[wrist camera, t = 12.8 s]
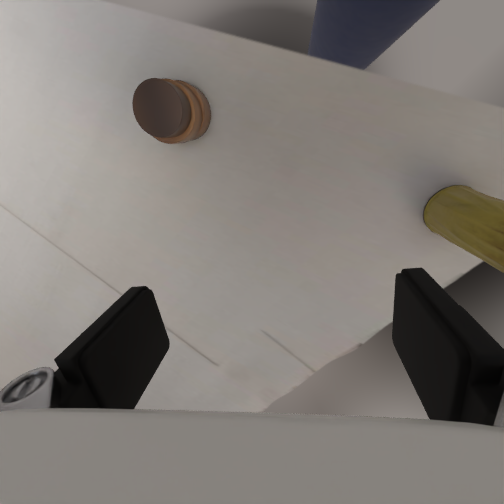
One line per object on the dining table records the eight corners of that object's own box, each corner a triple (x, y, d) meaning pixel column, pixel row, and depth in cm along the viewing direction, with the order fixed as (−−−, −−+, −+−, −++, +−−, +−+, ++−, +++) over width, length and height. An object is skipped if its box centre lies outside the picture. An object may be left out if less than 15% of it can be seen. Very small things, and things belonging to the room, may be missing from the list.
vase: (442, 177, 31) (550, 207, 18) (491, 195, 31) (635, 237, 18) (413, 224, 34) (489, 280, 21) (458, 241, 34) (563, 307, 21)
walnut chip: (184, 77, 26) (174, 72, 24) (196, 132, 28) (188, 132, 26) (138, 88, 27) (124, 84, 25) (153, 141, 29) (141, 141, 27)
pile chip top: (195, 77, 28) (186, 72, 26) (207, 138, 31) (201, 138, 28) (144, 89, 29) (131, 85, 27) (160, 147, 32) (149, 148, 29)
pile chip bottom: (204, 79, 30) (197, 74, 28) (215, 135, 33) (210, 135, 30) (156, 90, 32) (145, 86, 29) (170, 144, 34) (161, 144, 32)
